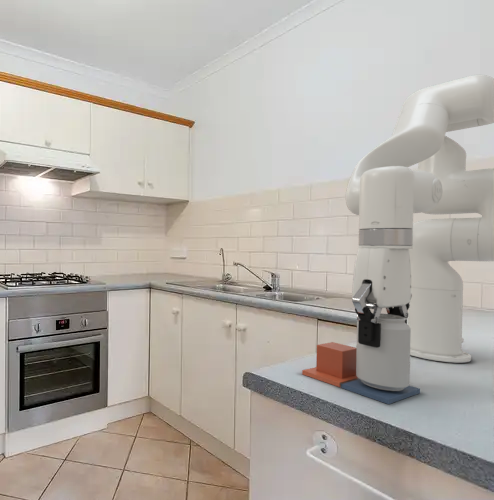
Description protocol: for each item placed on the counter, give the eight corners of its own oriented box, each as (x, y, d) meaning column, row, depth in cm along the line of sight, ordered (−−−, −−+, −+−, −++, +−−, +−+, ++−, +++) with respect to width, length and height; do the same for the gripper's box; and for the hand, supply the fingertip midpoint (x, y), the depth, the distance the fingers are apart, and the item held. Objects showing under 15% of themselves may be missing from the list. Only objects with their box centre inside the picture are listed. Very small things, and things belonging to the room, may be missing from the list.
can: (358, 373, 68) (359, 309, 68) (409, 383, 63) (411, 314, 63) (353, 385, 62) (354, 315, 62) (409, 396, 57) (410, 321, 57)
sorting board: (333, 366, 75) (333, 362, 75) (420, 393, 62) (420, 388, 62) (302, 374, 71) (302, 370, 71) (388, 404, 57) (388, 399, 57)
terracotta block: (331, 366, 73) (332, 341, 73) (357, 374, 68) (358, 348, 68) (316, 370, 71) (316, 344, 71) (342, 378, 66) (342, 351, 66)
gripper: (387, 241, 70) (385, 333, 70) (332, 239, 62) (330, 343, 62) (436, 241, 63) (433, 342, 63) (380, 239, 55) (378, 355, 55)
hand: (382, 342), depth 63 cm, fingers closed on can, 7 cm apart
